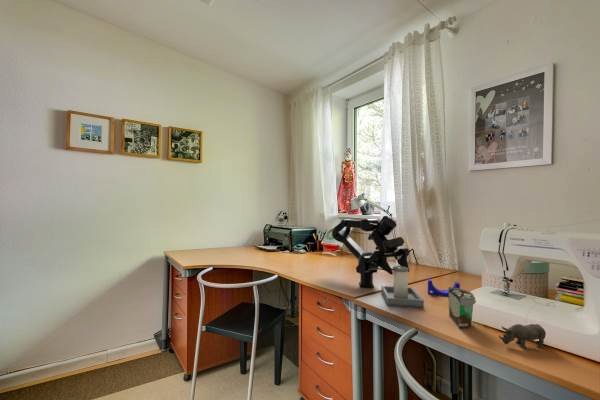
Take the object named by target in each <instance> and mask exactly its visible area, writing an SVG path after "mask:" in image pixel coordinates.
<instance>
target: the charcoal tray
mask: <svg viewBox="0 0 600 400" xmlns="http://www.w3.org/2000/svg"><path fill="white" fill-rule="evenodd" d="M380 291H381V295H382V298H383V299H384V301H385V304H386V305H387V307H395V308H408V307H410V308H411V309H425V307H424V306H425V304H424V301H425V300H424V299H423V298H422V297H421V295H419V293H418V292H417V291H416V289H415V288H414V287H413V286H408V299H406V298H394V285H393V286H392V285H381V289H380Z"/></svg>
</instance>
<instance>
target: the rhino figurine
mask: <svg viewBox="0 0 600 400" xmlns="http://www.w3.org/2000/svg"><path fill="white" fill-rule="evenodd" d="M501 328H502V330H504V331H505V334H502V336H503V337H502V336H501V335H498V337H499V339H500V340H501V341H502V342H503V344H504V345H507V344H510V343H511V342H513V341H515V339H517V340H516V341H515V344H517V345H519V348H521V349H524V350H526V348H527V346H526V341H535V340H536V341H535V342H534V343H535V344H537V345H536V347H537V348H538V349H542V350H543V349H544V348H545V346H544V343H545V341H544V339H546V330H545V329H544V328H543V327H542V326H541V324H540V325H539V324H538V323H535V324H534V323H530V324H526V325H523V324H521V323H515V324H513V325H512V326H510V327H508V328H506V327H504V326H501ZM538 339H539V341H537V340H538Z"/></svg>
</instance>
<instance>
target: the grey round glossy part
mask: <svg viewBox="0 0 600 400" xmlns="http://www.w3.org/2000/svg"><path fill="white" fill-rule="evenodd" d="M392 272H393V274H392V275H393V278H392V279H393V286H394V298H406V299H408V287H409V272H408V268H407V267H404V266H401V265H395V266H392Z"/></svg>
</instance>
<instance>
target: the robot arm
mask: <svg viewBox="0 0 600 400" xmlns="http://www.w3.org/2000/svg"><path fill="white" fill-rule="evenodd" d="M396 227H397V222H396V221H395V220H393V219H392V218H391V217H389V216H388V215H383V217H382V218H381V220H380V221H379V219H377V218H366V219H361V220H360V219H349V218H347V219H346V218H343V219H342V220H341V221H340V223H338V224H337V225H336V226H334V228H333V229H332V231H331V236H332V238H333V239H334V240H335V241H337V242H339V243H342V244H343V245H344V246H345V247H346V248H347V249H348V251H350V252H351V254H352V255H353V256H354V257H355V258H356V259H357V261H358V265H357V266H355V270H356V271H355V272H356V273H358V274H359V275H360V281H359V282H358V284H359V287H360V288H370V289H371V288H373V289H374V288H375V285H374V273H377V272H378V269H379V268H381V269H383V271H385V272H387V273H388V274H389V275H393V269H392V267H391V265H390V264H389V263H388V260H387V259H390V258H394V259H395V260H396V263H397V264H399V266H404V267H407V268H408V273H409V272H410V267H409V263H408V256H410V253H411V251H410V250H409V248H406V247H403V246H404V244H405V239H404V238H403V237H402V236H397V237H396V238H391V239H389V238H387V237H386V236H390V234H391V233H392V232H393V231H394V229H395V228H396ZM351 228H354V229H360V230H361V231H363V232H366V233H369V232H371V233H369V234H368V237H367V240H368V241H373V243H374V245H375V250H374V251H373V252H366V251H365V250H364V249H363V248H362V247H361V246H359V245H358V243H356V241H355V240H354V239H353V238H351V237H350V236H351V232H352V231H351V230H352V229H351ZM399 247H401V248H399ZM402 247H403V248H402Z"/></svg>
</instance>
